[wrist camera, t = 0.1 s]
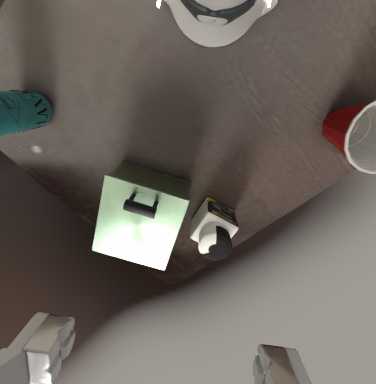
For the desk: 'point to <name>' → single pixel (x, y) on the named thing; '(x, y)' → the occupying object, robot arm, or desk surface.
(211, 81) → the desk surface
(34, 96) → the beverage bottle
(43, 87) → the desk surface
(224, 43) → the robot arm
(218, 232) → the medicine bottle
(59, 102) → the desk surface
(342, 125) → the plastic cup
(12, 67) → the desk surface
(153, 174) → the green open box
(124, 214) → the lid
